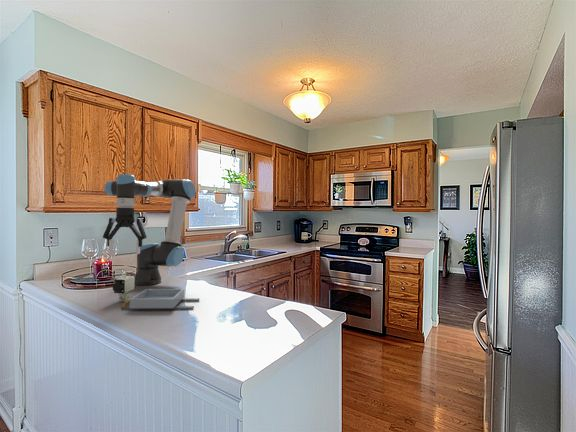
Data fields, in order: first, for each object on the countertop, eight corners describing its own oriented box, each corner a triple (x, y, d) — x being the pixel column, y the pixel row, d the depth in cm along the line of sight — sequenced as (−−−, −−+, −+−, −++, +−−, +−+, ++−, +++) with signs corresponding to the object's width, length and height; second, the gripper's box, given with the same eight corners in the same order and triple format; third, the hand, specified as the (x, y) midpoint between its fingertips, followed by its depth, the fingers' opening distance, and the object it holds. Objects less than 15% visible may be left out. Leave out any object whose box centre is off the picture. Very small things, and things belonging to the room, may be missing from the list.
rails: (133, 300, 146) (133, 296, 146) (199, 300, 148) (199, 296, 148) (119, 309, 132) (119, 305, 132) (192, 309, 134) (193, 305, 134)
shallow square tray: (145, 296, 148) (146, 288, 148) (184, 296, 150) (184, 288, 150) (129, 308, 130) (129, 299, 130) (173, 308, 132) (173, 299, 132)
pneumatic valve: (136, 297, 151) (137, 273, 151) (121, 304, 140) (121, 278, 139) (126, 297, 152) (126, 272, 152) (110, 304, 140) (110, 277, 140)
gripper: (94, 206, 141) (93, 254, 141) (148, 207, 143) (147, 254, 143) (103, 206, 148) (102, 252, 148) (154, 208, 150) (153, 252, 150)
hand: (124, 253), depth 145 cm, fingers open, 11 cm apart
